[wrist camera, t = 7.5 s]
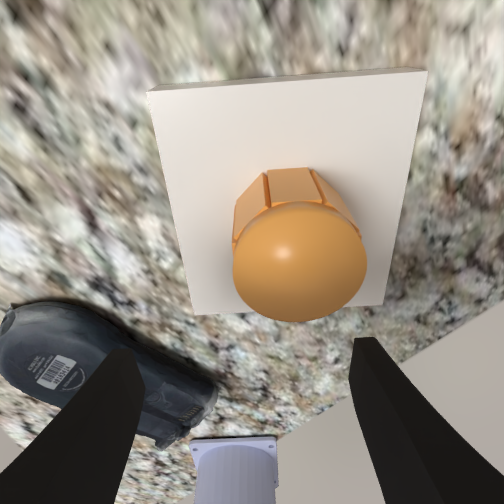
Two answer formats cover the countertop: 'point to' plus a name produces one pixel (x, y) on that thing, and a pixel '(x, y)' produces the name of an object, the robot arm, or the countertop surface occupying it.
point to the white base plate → (285, 161)
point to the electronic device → (89, 358)
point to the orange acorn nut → (295, 247)
